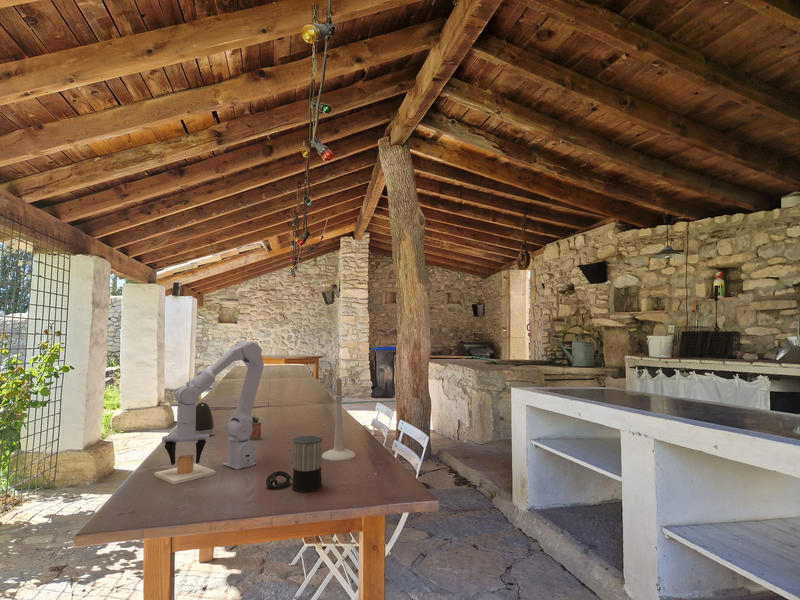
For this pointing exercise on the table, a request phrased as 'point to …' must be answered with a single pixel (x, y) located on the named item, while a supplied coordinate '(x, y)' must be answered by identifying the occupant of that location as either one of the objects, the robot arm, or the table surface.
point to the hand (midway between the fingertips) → (185, 463)
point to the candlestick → (338, 432)
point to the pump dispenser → (204, 419)
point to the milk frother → (303, 466)
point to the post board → (177, 478)
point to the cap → (185, 464)
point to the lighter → (256, 429)
